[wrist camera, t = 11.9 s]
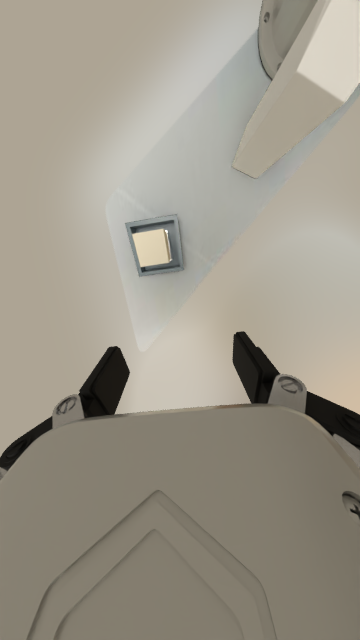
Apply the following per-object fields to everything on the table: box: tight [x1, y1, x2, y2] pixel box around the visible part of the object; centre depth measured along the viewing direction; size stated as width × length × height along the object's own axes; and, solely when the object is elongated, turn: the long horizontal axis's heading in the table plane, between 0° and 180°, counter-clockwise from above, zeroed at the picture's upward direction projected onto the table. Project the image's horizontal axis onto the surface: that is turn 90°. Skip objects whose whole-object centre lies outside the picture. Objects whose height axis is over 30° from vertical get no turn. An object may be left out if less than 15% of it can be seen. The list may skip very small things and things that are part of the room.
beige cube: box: [132, 229, 171, 267], centre depth 29 cm, size 6×6×6 cm
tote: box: [125, 214, 184, 277], centre depth 34 cm, size 11×11×6 cm
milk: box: [232, 0, 360, 179], centre depth 19 cm, size 6×6×22 cm
